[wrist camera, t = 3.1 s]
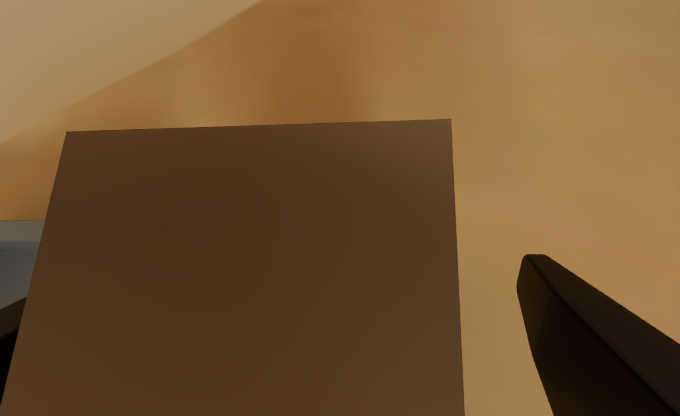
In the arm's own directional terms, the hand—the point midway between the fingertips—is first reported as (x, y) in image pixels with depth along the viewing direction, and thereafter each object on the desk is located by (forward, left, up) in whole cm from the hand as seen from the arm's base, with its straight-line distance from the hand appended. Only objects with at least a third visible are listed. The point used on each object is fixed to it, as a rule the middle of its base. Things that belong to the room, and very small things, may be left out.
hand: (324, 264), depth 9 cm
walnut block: (-1, 0, -7) cm, 7 cm away
